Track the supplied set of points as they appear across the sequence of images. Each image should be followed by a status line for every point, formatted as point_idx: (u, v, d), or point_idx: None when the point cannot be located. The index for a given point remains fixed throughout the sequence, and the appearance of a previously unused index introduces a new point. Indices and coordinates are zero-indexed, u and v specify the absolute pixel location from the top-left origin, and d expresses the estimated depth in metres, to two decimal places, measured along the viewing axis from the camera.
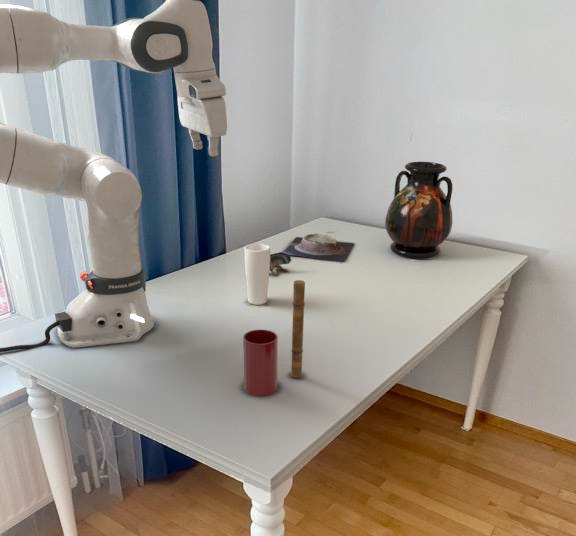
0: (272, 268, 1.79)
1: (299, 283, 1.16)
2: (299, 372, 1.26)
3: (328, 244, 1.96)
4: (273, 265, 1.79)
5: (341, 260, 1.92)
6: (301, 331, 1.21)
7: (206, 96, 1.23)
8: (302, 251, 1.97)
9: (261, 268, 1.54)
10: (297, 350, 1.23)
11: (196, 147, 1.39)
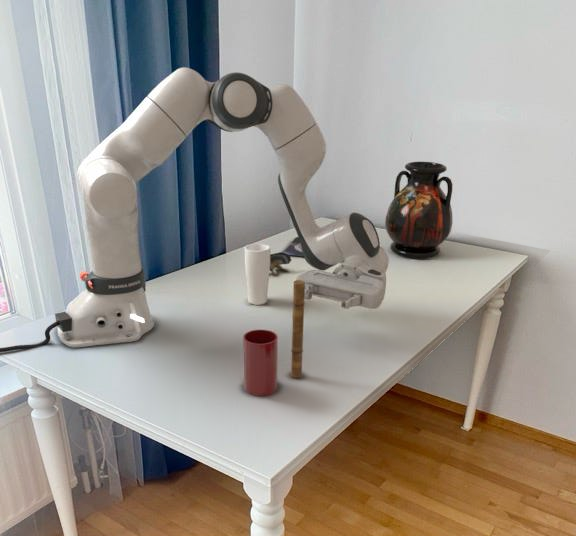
0: (272, 268, 1.79)
1: (299, 283, 1.16)
2: (299, 372, 1.26)
3: None
4: (273, 265, 1.79)
5: None
6: (301, 331, 1.21)
7: (383, 283, 1.35)
8: None
9: (261, 268, 1.54)
10: (297, 350, 1.23)
11: (309, 293, 1.32)
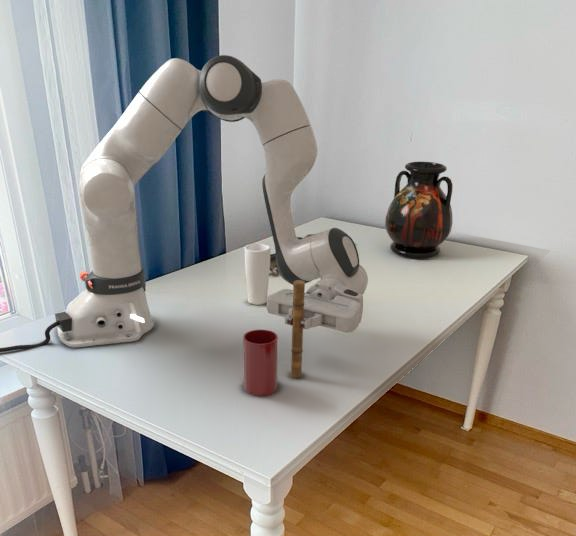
0: (272, 268, 1.79)
1: (299, 283, 1.16)
2: (298, 372, 1.26)
3: None
4: (273, 265, 1.79)
5: None
6: (301, 331, 1.21)
7: (360, 305, 1.26)
8: None
9: (261, 268, 1.54)
10: (297, 350, 1.23)
11: (292, 318, 1.21)
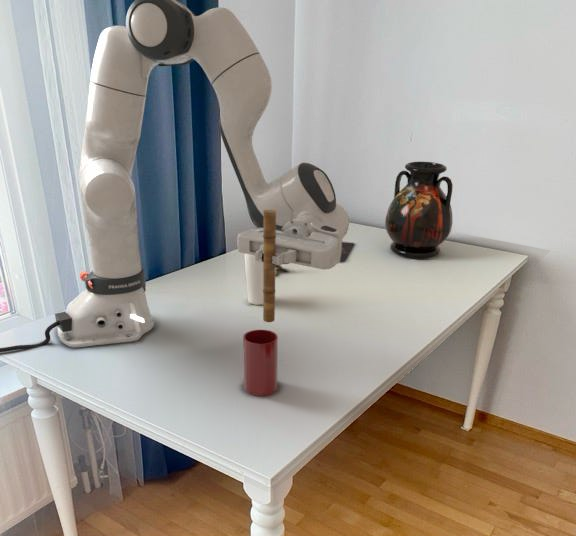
0: None
1: (269, 211, 1.05)
2: (271, 315, 1.15)
3: None
4: None
5: (341, 260, 1.92)
6: (273, 268, 1.10)
7: (339, 242, 1.15)
8: None
9: (261, 268, 1.54)
10: (269, 290, 1.12)
11: None
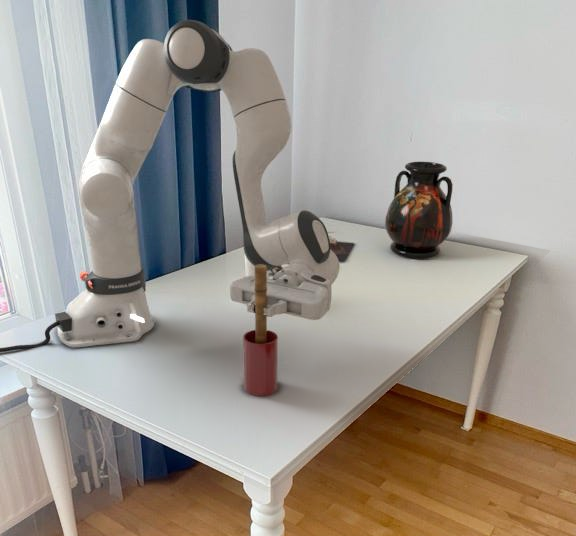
0: None
1: (260, 267, 1.09)
2: None
3: None
4: None
5: (341, 260, 1.92)
6: (264, 319, 1.14)
7: (328, 291, 1.19)
8: None
9: None
10: (261, 339, 1.16)
11: (254, 305, 1.14)
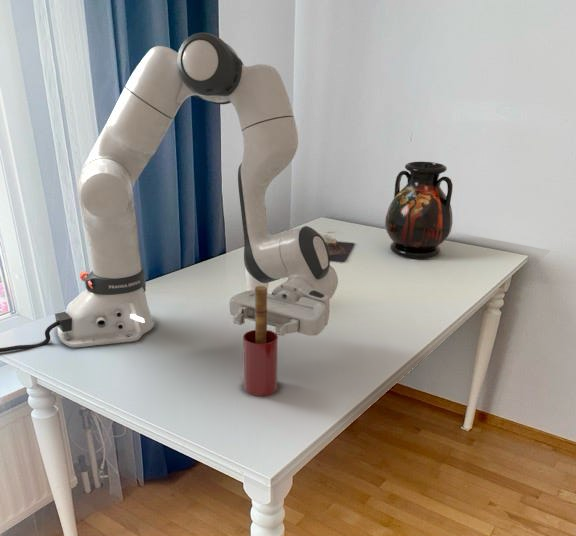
0: None
1: (260, 289, 1.12)
2: None
3: (328, 244, 1.96)
4: None
5: (341, 260, 1.92)
6: (264, 339, 1.17)
7: (326, 307, 1.20)
8: None
9: None
10: None
11: (241, 317, 1.17)
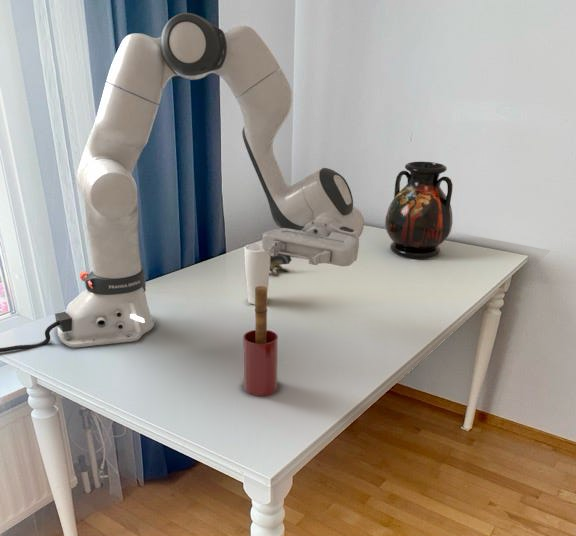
0: (272, 268, 1.79)
1: (260, 289, 1.12)
2: None
3: None
4: (273, 265, 1.79)
5: None
6: (264, 339, 1.17)
7: (356, 241, 1.25)
8: None
9: (261, 268, 1.54)
10: None
11: (275, 249, 1.21)
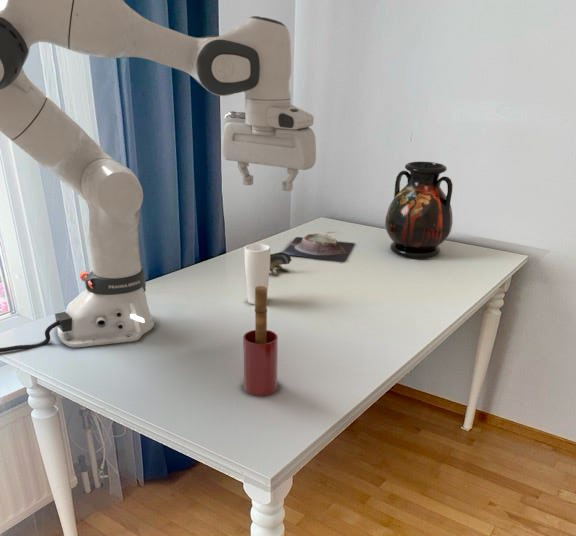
0: (272, 268, 1.79)
1: (260, 289, 1.12)
2: None
3: (328, 244, 1.96)
4: (273, 265, 1.79)
5: (341, 260, 1.92)
6: (264, 339, 1.17)
7: (303, 126, 1.13)
8: (302, 251, 1.97)
9: (261, 268, 1.54)
10: None
11: (249, 182, 1.25)
